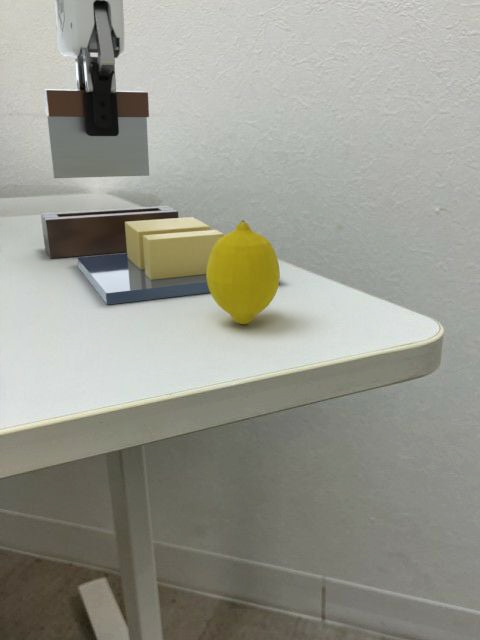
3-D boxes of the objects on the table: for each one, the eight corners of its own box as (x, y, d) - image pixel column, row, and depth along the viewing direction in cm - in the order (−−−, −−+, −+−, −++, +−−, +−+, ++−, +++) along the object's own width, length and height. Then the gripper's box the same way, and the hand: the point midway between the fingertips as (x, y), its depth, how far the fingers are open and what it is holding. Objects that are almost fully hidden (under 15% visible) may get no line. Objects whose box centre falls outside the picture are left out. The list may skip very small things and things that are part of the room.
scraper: (55, 179, 67) (46, 89, 64) (52, 176, 69) (42, 89, 66) (152, 176, 71) (148, 92, 68) (146, 173, 73) (142, 91, 70)
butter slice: (151, 280, 59) (148, 239, 57) (145, 274, 60) (142, 235, 59) (224, 272, 61) (224, 233, 60) (217, 267, 63) (216, 229, 62)
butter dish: (106, 304, 55) (105, 293, 55) (78, 267, 66) (77, 257, 65) (279, 284, 62) (279, 274, 61) (227, 253, 72) (227, 244, 72)
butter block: (140, 270, 61) (137, 231, 60) (127, 258, 66) (124, 221, 64) (211, 263, 64) (210, 226, 63) (194, 251, 68) (193, 216, 67)
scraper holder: (50, 258, 69) (45, 219, 67) (45, 250, 72) (40, 213, 70) (179, 247, 74) (178, 211, 73) (169, 240, 78) (167, 205, 76)
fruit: (279, 312, 54) (281, 213, 51) (278, 335, 49) (280, 228, 46) (211, 310, 54) (209, 212, 51) (204, 334, 49) (200, 226, 46)
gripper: (30, -69, 66) (49, 127, 73) (56, -101, 53) (76, 142, 60) (106, -60, 69) (117, 128, 76) (148, -88, 56) (156, 142, 63)
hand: (99, 132), depth 68 cm, fingers closed on scraper, 2 cm apart
